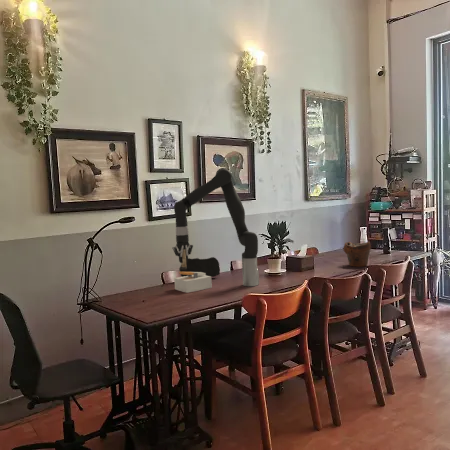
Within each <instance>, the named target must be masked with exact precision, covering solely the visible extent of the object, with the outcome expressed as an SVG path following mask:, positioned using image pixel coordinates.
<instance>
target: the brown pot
mask: <svg viewBox="0 0 450 450" xmlns="http://www.w3.org/2000/svg"><path fill="white" fill-rule="evenodd" d="M371 247H372V246H371V242H370V241H369V240H367V242H363V243H359V242H358V243H356V242H355V243H354V242H351V241H348V242H345V243H344V246H343V251H344V254H346V257H347V261H348V265H349V266H350V267H356V268H357V267H360V268H361V267H367V266H368V263H369V258H370V257H369V256H370V252H371Z"/></svg>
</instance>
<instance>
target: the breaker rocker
mask: <svg viewBox="0 0 450 450" xmlns="http://www.w3.org/2000/svg"><path fill="white" fill-rule="evenodd" d="M193 273H198V275H206V273H202V272H180V271H179V274H180V275H181V274H183V275H194V274H193Z"/></svg>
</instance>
